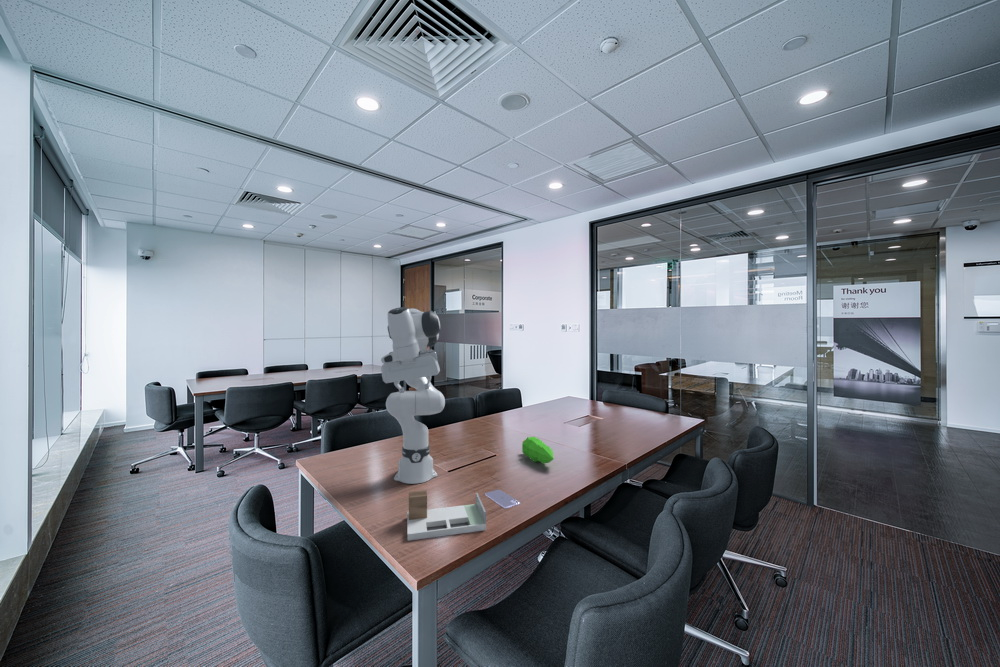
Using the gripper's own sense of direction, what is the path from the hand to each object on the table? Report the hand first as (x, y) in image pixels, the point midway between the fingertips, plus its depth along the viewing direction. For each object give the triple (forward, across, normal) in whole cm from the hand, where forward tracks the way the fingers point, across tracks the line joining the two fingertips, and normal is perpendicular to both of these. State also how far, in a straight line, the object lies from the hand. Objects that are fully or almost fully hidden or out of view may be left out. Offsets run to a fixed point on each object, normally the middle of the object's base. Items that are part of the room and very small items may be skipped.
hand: (415, 390), depth 133 cm
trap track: (+44, -5, +12) cm, 46 cm away
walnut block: (+41, +4, +11) cm, 42 cm away
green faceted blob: (+59, -38, -49) cm, 85 cm away
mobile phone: (+50, -23, -7) cm, 56 cm away
